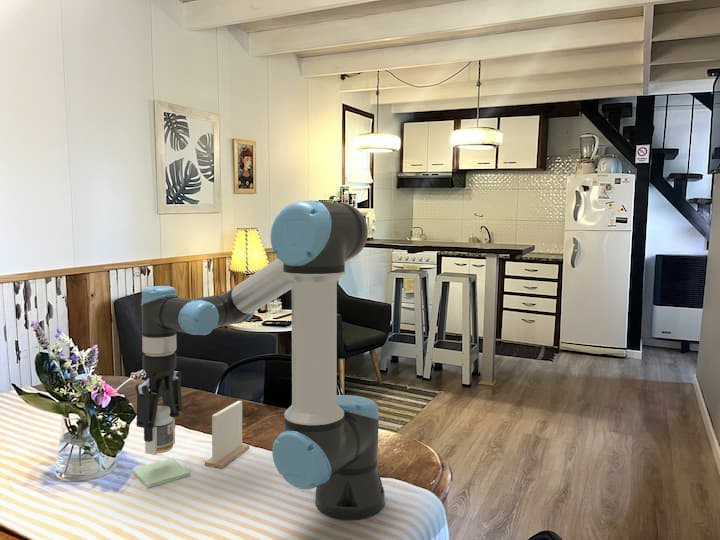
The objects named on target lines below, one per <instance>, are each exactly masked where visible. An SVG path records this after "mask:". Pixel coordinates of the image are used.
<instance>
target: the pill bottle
mask: <svg viewBox="0 0 720 540" xmlns="http://www.w3.org/2000/svg"><path fill="white" fill-rule="evenodd" d="M169 414H170V407H168V406H164V405H158V407H157V412H156V418H155V424H154V426H156V427H157V454H165V453H167V452H170V451H171V450H172V449H173V448H174V444H173V420H172V417H171V416H169Z"/></svg>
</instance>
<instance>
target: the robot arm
mask: <svg viewBox="0 0 720 540" xmlns="http://www.w3.org/2000/svg"><path fill="white" fill-rule="evenodd" d="M270 229H271V230H270V243H271V244H270V245H271V248H272V249H271V250H272V251H273V253H275V254H276V257H277V258H276V259H274V260H272V261H271V262H270V263H268V264H267V265H266V266H264V267H263V268H261V269H259V270H257V271H256V272H255V273H253V274H251V275H250V276H249V277H247V278H246V279H245V280H243V281H242V282H239V283H238V284H237V285H236V286H234V287H233V288H231V289H229V290H228V291H227V292H224V293H221V294H215V295H210V296H209V295H208V296H203V297H195V298H183V297H177V296H178V295H177V290H176V288H175V287H173V286H169V285H154V286H147V287H144V288H143V290H142V291H141V304H140V309H141V334H142V335H141V336H142V339H141V341H142V342H141V343H142V348H141V349H142V351H141V352H142V353H143V354H142V356H141V358H142V359H141V361H142V363H141V365H142V370H143V371H144V372H145V377H144V382H142V383H141V384H136V385H135V386H134V388H135V391H136V427H137V428H142V429H143V440H144V445H145V446H144V451H145V452H144V453H145V454H147V455H151V456H152V455H153V456H156V455H157V454H158V453H157V427H156V426H154V424H155V418H156V412H157V407H158V406H159V400H160V399H161V400H162V403H163V406H168V407H170V414H169V416H171V417H172V420H173V445H174V444H176V422H177V421H176V419H177V418H179V417H180V415H181V413H180V412H182V409H183V407H182V405H183V404H182V403H183V401H182V376H183V372H182V371H176V370H175V369H176V368H177V353H176V351H177V344H178V343H177V332H179V333H184V334H185V333H186V334H189V335H192V336H197V335H198V336H206V335H210V334H211V333H212V331H214V330H215V329H217V328H220V327H224V326H230V325H236V324H237V325H238V324H241V323H243V322H247V321H249V320H250V319H252V318H253V316H254V314H255V313H256V311H257V310H259V309H261V308H263V307H264V306H266V305H267V304H270V303H271V302H272V301H274V300H276V299H277V298H279V297H280V296H282V295H284V294H286V293H287V292H289V291H291V405H290V406H289V407H288V408H287V409H286V410H284V411H285V412H284V415H283V417H284V418H283V421H284V423H283V425H284V426H283V428H284V430H283V431H282V432H280V434H279V435H278V436H277V438H276V439H274V442H273V444H272V453H271V455H272V460H273V463H274V466H275V468H276V471H278V473H279V474H280V475H281V476H282V477H283V479H284V480H285V482H287V483H288V484H289V485H290V486H292V487H294V488H297V489H299V490H312V489H315V493H314V494H315V495H314V497H315V498H314V502H315V503H314V504H315V506H316V507H317V509H318V510H319V511H320V512H321V513H323V514H325V515H327V516H329V517H333V518H336V519H341V520H359V519H366V518H368V517H372V516H374V515H376V514H378V513H379V512H380V511H381V510H382V509H383V508H384V506H385V496H386V495H385V489H384V486H383V483H382V479H381V476H380V472H379V469H378V454H379V453H378V452H379V425H380V424H379V421H380V417H379V406H378V404H377V403H376V402H375V401H374V400H372V399H370V398H368V397H364V396H358V395H350V394H349V395H347V394H337V391H338V390H337V383H338V382H337V377H338V376H337V369H338V366H337V364H338V363H337V362H338V361H337V360H338V359H337V357H338V356H337V355H338V352H337V349H338V345H337V344H338V342H337V340H338V338H337V337H338V336H337V334H338V331H337V328H338V327H337V323H338V321H337V320H338V314H337V313H338V309H337V308H338V307H337V306H338V305H337V304H338V302H337V301H338V298H337V297H338V295H337V294H338V293H337V292H338V291H337V290H338V289H337V288H338V285H337V284H338V281H339V279H340V278H342V277H343V276H344V275H345V272H346V267H345V265H346V262H347V261H349V260H351V259H354V258H355V257H356V256H358V254H360V253H361V252H362V250H363V249H364V248H365V246H366V243H367V240H368V237H369V229H368V223H367V221H366V219H365V216H364V215H363V214H362V213H361V211H360V210H359V209H357V208H356V207H355V206H353V205H351V204H348V203H345V202H333V201H332V202H330V201H322V200H312V199H309V200H298V201H294V202H291V203H289V204H287V205H286V206H283V208H282V209H281V211H280V212H279V213H278V214H277V215H276V217H275V218H274V219H273V223H272V225H271V228H270Z"/></svg>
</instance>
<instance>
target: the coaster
mask: <svg viewBox="0 0 720 540" xmlns="http://www.w3.org/2000/svg"><path fill="white" fill-rule="evenodd" d="M131 472H132V474H134V476H135V477H136V479H138V480H139V481H140V482H141V484H143V485H144V486H145V487H146V488H147V489H150V488H153V487H156V486H160V485H163V484H165V483H170V482H173V481H176V480H179V479H183V478H187V477H189V476H190V475H191V473H190V471H189V470H188V469H187V468H186V467H184V466H183V465H182V464H181V463H180V462H179V461H177V460H176V459H175V458H174V457H173V458H167V459H165V460H160V461H157V462H153V463H149V464H146V465H141V466H138V467H135V468H132V469H131Z"/></svg>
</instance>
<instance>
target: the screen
mask: <svg viewBox="0 0 720 540" xmlns="http://www.w3.org/2000/svg"><path fill="white" fill-rule="evenodd" d="M211 437H212V438H211V441H212V442H211V447H212V448H211V455H212V456H211V457H210V458H208V459H207V460H205V461H204V462H203V463H204V466H207V467H211V466H213V467H212V468H216V467H217V469H221V468H222V469H223V468H225V467H226V466H228V465H229V464H230V463H232V462H233V461H235V460H236V459H235V458H236V457H237V456H238V455H240V454H241V453H242V454H244V453H245V452H246V451H248V450H249V449H250V445H249V444H243V401H242V400H237V401H235V402H233V403H231V404H230V405H228V406H226V407H225V408H223V409H221V410H219V411H217V412H215V413H214V414H212V415H211ZM247 449H248V450H247ZM244 451H245V452H244ZM243 452H244V453H243ZM242 454H241V455H242ZM241 455H240V456H241ZM238 457H239V456H238ZM238 457H237V458H238ZM232 460H233V461H232ZM228 463H229V464H228Z"/></svg>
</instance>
